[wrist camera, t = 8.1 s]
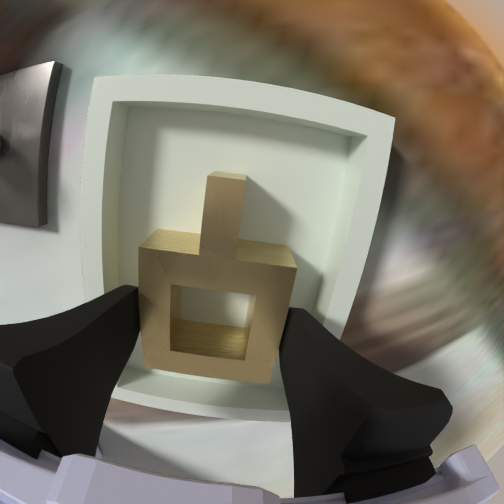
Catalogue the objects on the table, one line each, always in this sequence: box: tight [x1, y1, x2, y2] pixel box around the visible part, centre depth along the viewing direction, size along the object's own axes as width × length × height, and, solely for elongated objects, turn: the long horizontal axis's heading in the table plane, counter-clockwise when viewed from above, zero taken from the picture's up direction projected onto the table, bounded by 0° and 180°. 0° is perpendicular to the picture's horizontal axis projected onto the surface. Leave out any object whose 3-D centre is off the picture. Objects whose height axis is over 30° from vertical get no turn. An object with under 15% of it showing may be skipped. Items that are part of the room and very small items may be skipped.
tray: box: [80, 74, 395, 422], centre depth 12 cm, size 15×11×2 cm
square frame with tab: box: [138, 171, 297, 383], centre depth 11 cm, size 8×5×2 cm
